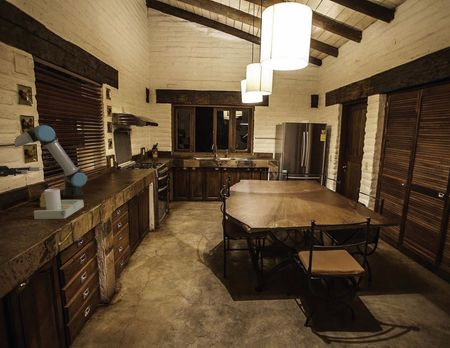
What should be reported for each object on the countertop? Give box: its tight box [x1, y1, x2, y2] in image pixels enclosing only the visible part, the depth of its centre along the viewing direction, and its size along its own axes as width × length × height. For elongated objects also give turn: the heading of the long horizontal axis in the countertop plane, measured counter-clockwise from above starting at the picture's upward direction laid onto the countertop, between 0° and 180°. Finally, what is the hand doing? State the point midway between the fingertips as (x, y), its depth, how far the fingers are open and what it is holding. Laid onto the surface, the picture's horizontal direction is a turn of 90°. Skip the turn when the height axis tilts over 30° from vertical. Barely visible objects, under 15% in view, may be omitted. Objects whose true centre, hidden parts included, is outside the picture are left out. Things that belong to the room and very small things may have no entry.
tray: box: [33, 199, 85, 220], centre depth 177 cm, size 18×28×6 cm, turn 6°
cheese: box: [39, 191, 46, 208], centre depth 194 cm, size 10×11×10 cm
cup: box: [44, 188, 62, 210], centre depth 170 cm, size 8×8×16 cm
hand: (33, 170), depth 175 cm, fingers open, 13 cm apart
